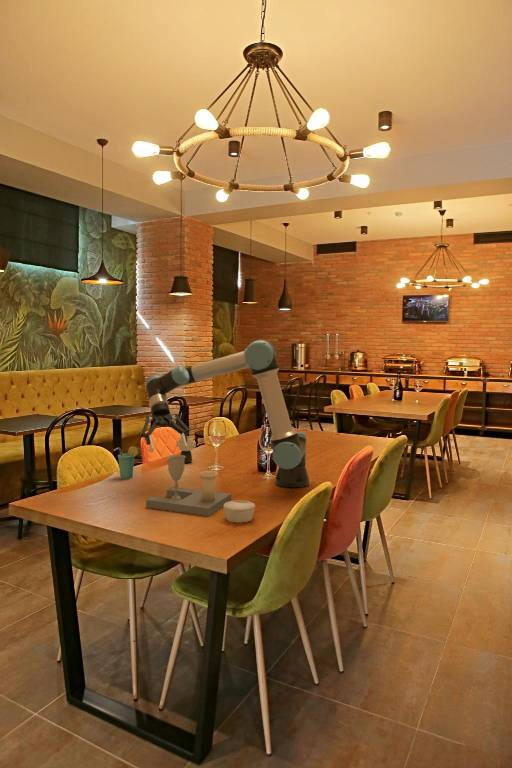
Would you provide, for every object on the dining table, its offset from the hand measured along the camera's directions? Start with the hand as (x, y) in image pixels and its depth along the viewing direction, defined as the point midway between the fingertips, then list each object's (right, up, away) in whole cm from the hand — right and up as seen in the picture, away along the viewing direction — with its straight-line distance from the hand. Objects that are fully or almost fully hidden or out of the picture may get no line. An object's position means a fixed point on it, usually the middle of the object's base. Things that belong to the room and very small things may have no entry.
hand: (169, 449), depth 220 cm
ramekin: (+29, -22, -25) cm, 44 cm away
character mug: (-1, -14, +61) cm, 63 cm away
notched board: (+9, -20, -9) cm, 24 cm away
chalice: (+4, -20, -7) cm, 21 cm away
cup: (-24, -17, +29) cm, 41 cm away
